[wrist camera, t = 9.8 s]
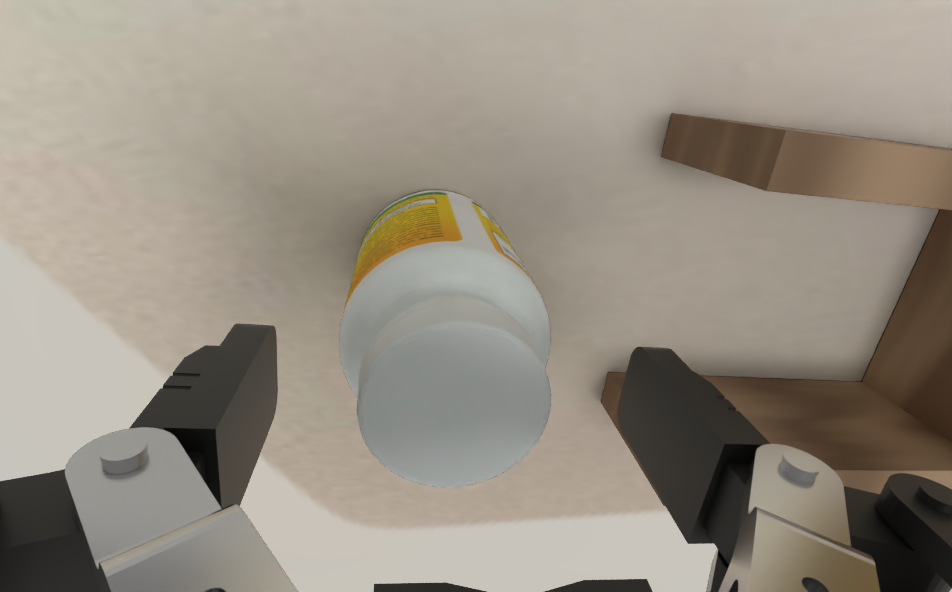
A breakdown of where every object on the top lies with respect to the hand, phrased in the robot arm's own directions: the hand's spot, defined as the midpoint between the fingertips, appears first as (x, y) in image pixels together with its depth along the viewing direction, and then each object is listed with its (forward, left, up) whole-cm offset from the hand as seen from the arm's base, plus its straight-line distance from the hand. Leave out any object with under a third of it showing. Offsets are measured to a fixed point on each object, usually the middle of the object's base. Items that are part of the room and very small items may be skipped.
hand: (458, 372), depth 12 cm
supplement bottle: (0, 0, -9) cm, 9 cm away
